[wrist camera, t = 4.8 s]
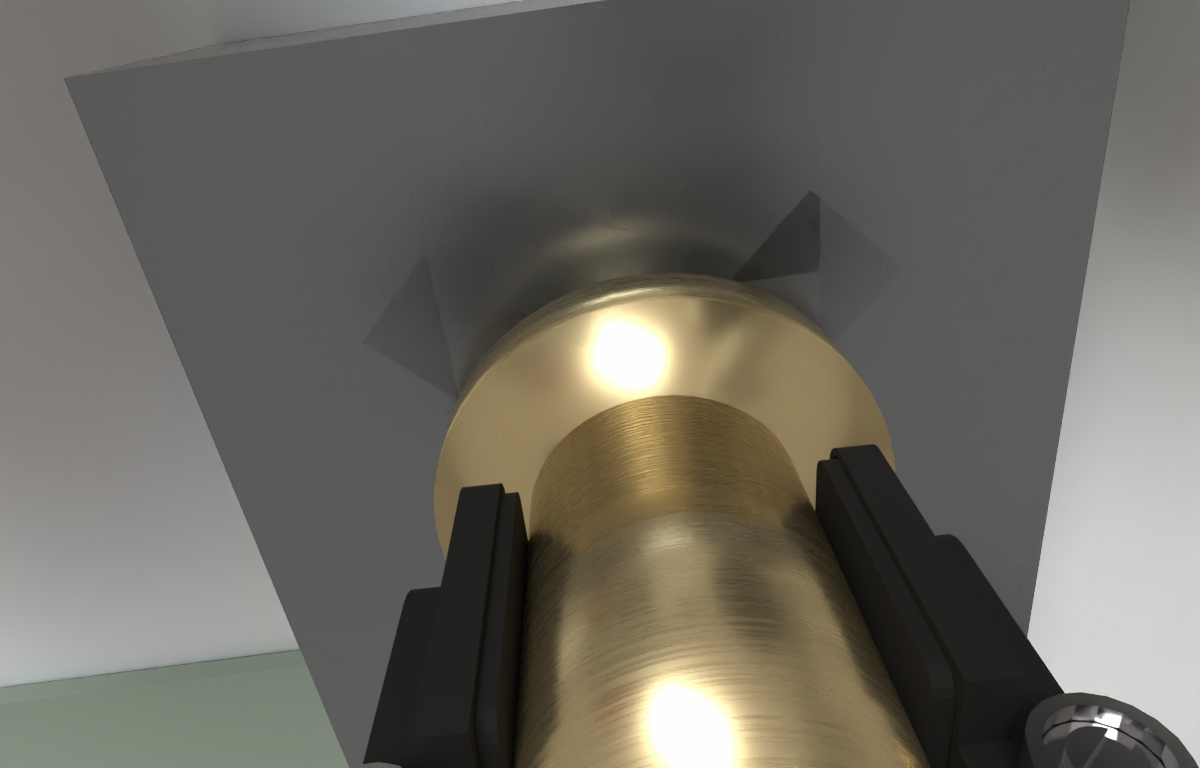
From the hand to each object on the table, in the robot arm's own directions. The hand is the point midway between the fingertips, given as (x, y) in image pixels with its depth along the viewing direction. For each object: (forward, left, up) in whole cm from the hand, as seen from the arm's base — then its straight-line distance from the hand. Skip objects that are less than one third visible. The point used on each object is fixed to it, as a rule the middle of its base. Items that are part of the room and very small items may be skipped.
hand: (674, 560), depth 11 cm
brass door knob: (0, 0, -7) cm, 7 cm away
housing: (0, 0, -8) cm, 8 cm away
